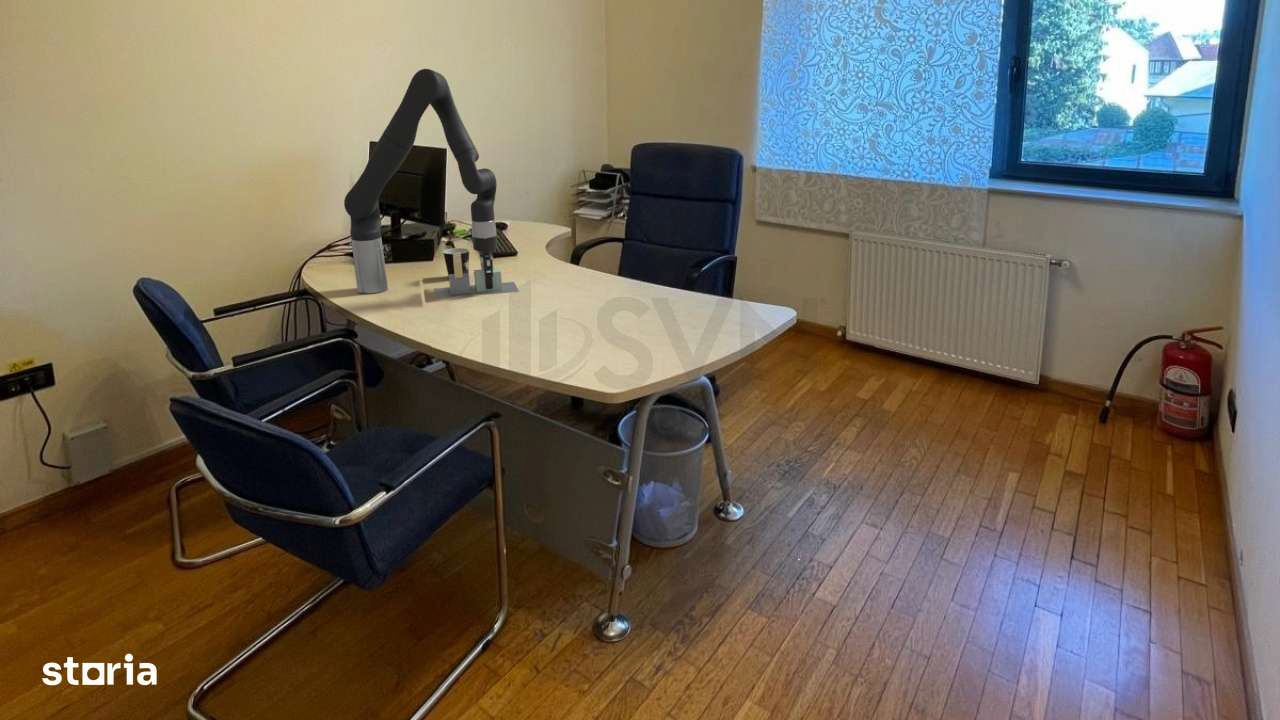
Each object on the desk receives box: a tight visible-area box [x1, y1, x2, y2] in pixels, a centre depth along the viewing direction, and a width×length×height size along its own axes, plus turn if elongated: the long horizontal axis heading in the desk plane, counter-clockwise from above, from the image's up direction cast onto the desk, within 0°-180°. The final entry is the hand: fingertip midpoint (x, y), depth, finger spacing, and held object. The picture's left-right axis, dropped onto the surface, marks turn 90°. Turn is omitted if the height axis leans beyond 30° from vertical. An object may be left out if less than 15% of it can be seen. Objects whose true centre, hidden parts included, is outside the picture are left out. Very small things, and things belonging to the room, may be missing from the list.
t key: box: [453, 252, 463, 278], centre depth 253 cm, size 14×2×6 cm, turn 13°
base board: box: [433, 273, 520, 300], centre depth 256 cm, size 26×12×6 cm, turn 106°
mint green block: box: [473, 267, 503, 292], centre depth 257 cm, size 8×5×6 cm, turn 106°
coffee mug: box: [443, 247, 470, 277], centre depth 272 cm, size 12×9×10 cm
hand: (488, 286), depth 258 cm, fingers closed on mint green block, 5 cm apart
